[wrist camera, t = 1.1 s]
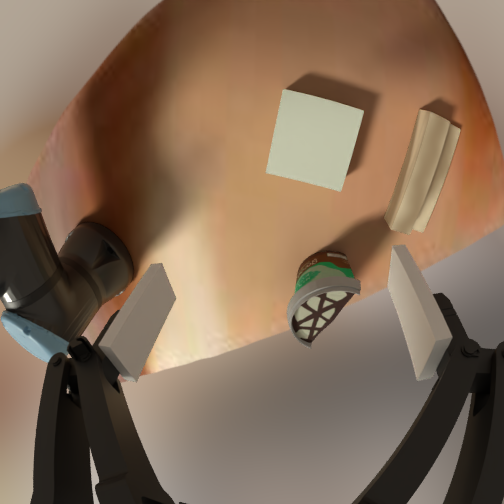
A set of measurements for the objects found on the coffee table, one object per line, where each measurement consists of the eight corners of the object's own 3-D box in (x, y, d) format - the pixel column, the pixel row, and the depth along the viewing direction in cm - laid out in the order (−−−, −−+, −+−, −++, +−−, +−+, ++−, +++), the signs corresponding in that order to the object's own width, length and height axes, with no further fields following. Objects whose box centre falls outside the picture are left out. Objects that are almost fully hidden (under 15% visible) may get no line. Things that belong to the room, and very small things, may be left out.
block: (268, 164, 35) (265, 172, 31) (284, 89, 29) (283, 89, 26) (336, 181, 34) (340, 191, 31) (356, 108, 29) (364, 110, 26)
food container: (314, 228, 38) (318, 271, 30) (350, 246, 39) (363, 291, 30) (275, 289, 45) (269, 336, 36) (308, 303, 45) (308, 350, 37)
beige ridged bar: (383, 217, 35) (390, 229, 33) (419, 109, 27) (430, 111, 24) (420, 229, 35) (429, 241, 32) (457, 128, 27) (470, 133, 24)
